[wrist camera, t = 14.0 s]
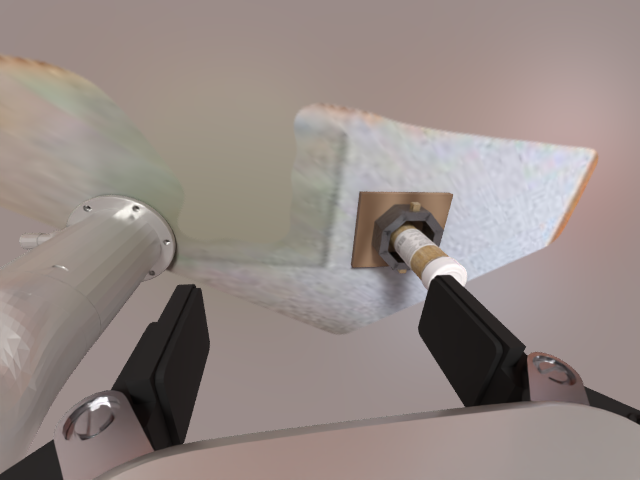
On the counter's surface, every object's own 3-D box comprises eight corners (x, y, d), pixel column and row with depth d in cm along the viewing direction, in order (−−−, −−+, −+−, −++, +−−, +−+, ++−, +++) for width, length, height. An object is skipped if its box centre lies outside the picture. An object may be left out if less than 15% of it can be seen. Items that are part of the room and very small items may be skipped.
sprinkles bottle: (401, 250, 43) (449, 305, 31) (379, 238, 42) (420, 290, 30) (419, 227, 42) (477, 275, 30) (397, 213, 40) (449, 258, 28)
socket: (368, 263, 44) (375, 276, 40) (378, 197, 39) (387, 205, 36) (421, 262, 45) (431, 274, 42) (436, 198, 40) (450, 205, 37)
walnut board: (351, 264, 44) (352, 267, 43) (359, 191, 39) (361, 193, 38) (431, 261, 46) (434, 264, 46) (449, 192, 41) (453, 194, 40)
